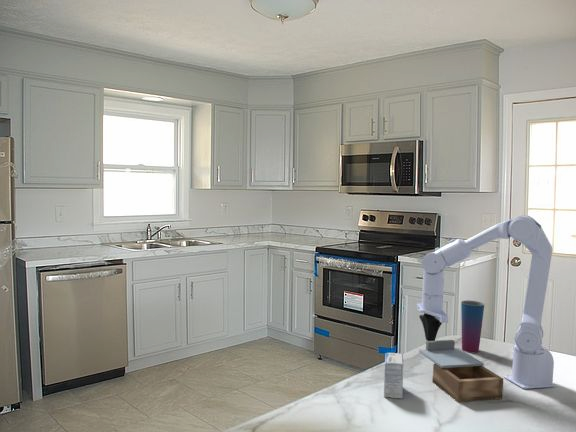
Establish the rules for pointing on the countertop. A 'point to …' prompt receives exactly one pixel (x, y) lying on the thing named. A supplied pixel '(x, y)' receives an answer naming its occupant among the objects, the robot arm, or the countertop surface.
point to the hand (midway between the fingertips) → (430, 340)
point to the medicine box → (393, 375)
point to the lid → (448, 355)
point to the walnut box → (468, 383)
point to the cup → (471, 324)
